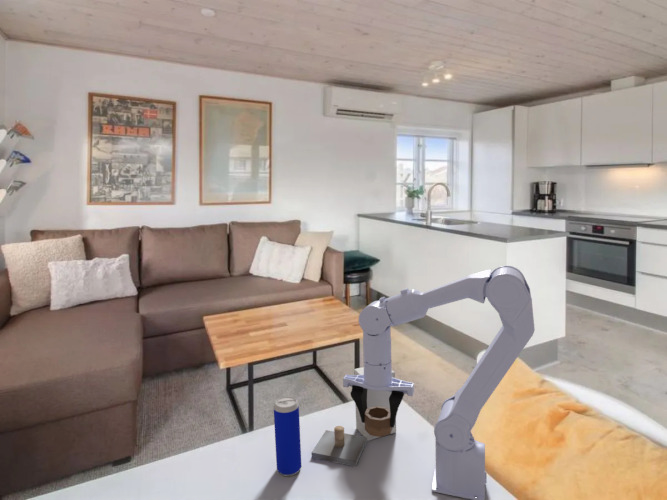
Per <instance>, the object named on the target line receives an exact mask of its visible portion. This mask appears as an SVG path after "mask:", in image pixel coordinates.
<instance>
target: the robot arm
mask: <svg viewBox="0 0 667 500" xmlns="http://www.w3.org/2000/svg"><path fill="white" fill-rule="evenodd" d="M399 292H400V293H399V294H395V295H392V296H390V297H385V296H382V297H380V298H379V300H374V301H372V302H371V303H370V304H368V305H367V306H365V307H364V308H363V309H362V310H361V312H360V313H359V315H358V324H359V326H360V329H361V330H362V352H363V353H362V355H363V358H362V359H363V367H364V375H354V374H345V375H344V376H343V378H342V384H343V385H342V386H343V388H349V387H351V391H350V397H351V398H352V400H353V401H354V403H355V404H356V406H357V408H358V410H359V413H360V417H361V421H362V423H365V414H364V413H365V412H366V410H367V389H369V390H373V391H389V392H392V393H391V395H390V397H389V404H390V427H394V425H395V422H396V423H397V414H398V410H399V407H400V405H401V403H402V401H403V399H404V396H405V394H406V395H407V396H409V397H413V396H414V393H415V383H414V382H410V381H406V380H401V379H399V378H396V377H395V378H392V370H393V369H392V368H393V367H392V337H391V333H392V332H391V330H392V329H391V327H398V326H400V325H404V324H407V323H411V322H413V321H416V320H420V319H423V318H425V317H426V315H427V312H428V310H429V309H433V308H436V307H440V306H443V305H447V304H450V303H453V302H458V301H462V300H464V299H465V300H466V299H470V300H473V301H476V302H478V303H480V304H485V302H486V298H487V300H488V302H489V304H490V305H491V306H492V307H493V308H494V310H495V311H496V312H497V313H498V316H499V319H500V321H501V323H502V326H501V327H500V329H499V330H498V331H497V333H496V335H495V336H494V338H493V339H492V341H491V342H490V344H489V346H488V347H487V348H486V350H485V352H484V353H483V355H481V357H480V359H479V360H478V362H477V363H476V364H475V366H474V368H473V370H472V371H471V373H470V374H469V376H468V377H467V379H466V380H465V381H464V383H463V385H462V386H461V387H460V388H459V389H458V390H456V392H455V393H454V394H453V396H450V397H449V398H447V399H445V400H444V401H443V403H442V405H441V409H440V412H439V415H438V420H437V422H435V426H434V429H433V432H434V437H435V439H434V440H435V465H434V472H433V478H432V483H431V484H432V485H431V491H432V492H433V493H434V492H435V493H440V494H444V495H448V496H453V497H457V498H463V499H466V500H467V499H468V500H485V498H486V496H485V494H486V491H485V490H486V489H485V488H486V484H487V477H488V476H487V472H486V447H485V446H486V443H484V442H481V441H478V440H476V439H475V437H474V436H473V434H472V429H473V428H474V427H475V424H476V422H477V420H478V417H479V415H480V413H481V410H482V409H483V407H485V404H486V403H487V402H488V400H489V399H490V397H491V396H492V394H493V393H494V391H495V390H496V388H497V387H498V386H499V384H501V381H502V380H503V379H504V377H505V376H506V374H507V373H508V371H509V370H510V368H511V367H512V365H513V364H514V363H515V362H516V360H517V358H518V357H519V356H520V354H521V353H522V351H523V350H524V349H525V347H526V345H528V343H529V341H531V338H532V337H533V336H534V333H535V319H534V310H533V298H532V295H531V287H530V286H529V284H528V282H527V280H526V278H525V275H524V274H523V272H522V271H521V270H520V269H518V268H517V267H514V266H513V265H502V266H498V267H496V268H495V269H493V270H492V268H490V269H485V270H481V271H479V272H476V273H475V272H474V273H471V274H469V275H466V276H463V277H461V278H458V279H456V280H453V281H449V282H447V283H445V284H442V285H440V286H436V287H434V288H432V289H429V290H426V291H424V292H423V291H420V290H419V289H416V288H412V289H409V288H408V287H405V288H403V289H401V290H400V291H399ZM355 404H354V405H355ZM356 406H355V407H356ZM475 497H477V498H475Z"/></svg>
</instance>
